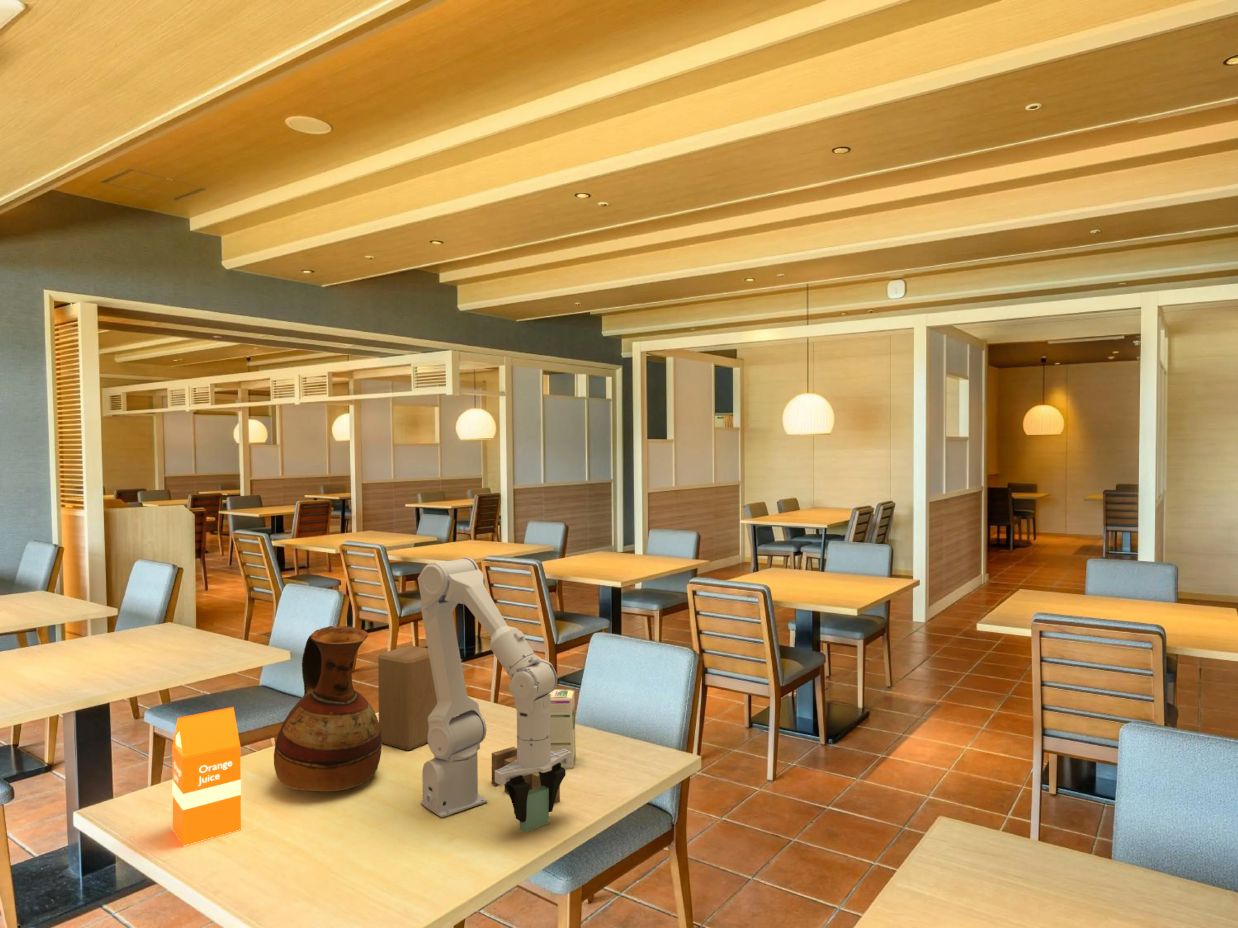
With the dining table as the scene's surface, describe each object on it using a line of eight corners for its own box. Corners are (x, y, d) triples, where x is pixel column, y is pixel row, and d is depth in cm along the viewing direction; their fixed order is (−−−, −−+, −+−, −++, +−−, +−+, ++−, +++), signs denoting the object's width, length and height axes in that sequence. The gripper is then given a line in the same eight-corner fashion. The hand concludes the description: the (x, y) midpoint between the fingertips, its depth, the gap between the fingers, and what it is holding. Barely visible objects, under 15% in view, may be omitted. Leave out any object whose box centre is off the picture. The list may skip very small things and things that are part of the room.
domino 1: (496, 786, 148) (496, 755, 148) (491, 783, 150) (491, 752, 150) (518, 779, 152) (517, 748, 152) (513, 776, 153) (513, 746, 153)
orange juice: (241, 829, 131) (240, 711, 131) (183, 847, 125) (182, 723, 125) (228, 814, 137) (227, 701, 137) (172, 830, 131) (171, 712, 131)
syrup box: (573, 768, 157) (573, 697, 157) (544, 768, 157) (544, 697, 157) (575, 758, 162) (575, 688, 162) (547, 757, 163) (547, 688, 162)
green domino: (524, 832, 130) (524, 796, 130) (519, 828, 131) (519, 793, 131) (548, 823, 133) (548, 788, 133) (543, 819, 134) (543, 785, 134)
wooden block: (442, 737, 175) (441, 649, 175) (408, 752, 166) (408, 658, 166) (411, 730, 180) (410, 643, 180) (376, 743, 171) (376, 653, 171)
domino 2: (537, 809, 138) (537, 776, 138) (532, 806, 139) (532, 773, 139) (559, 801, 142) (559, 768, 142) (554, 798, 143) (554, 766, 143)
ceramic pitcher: (311, 813, 137) (310, 644, 137) (252, 785, 149) (252, 630, 149) (402, 777, 153) (402, 625, 153) (343, 754, 165) (342, 614, 165)
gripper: (511, 752, 124) (511, 836, 124) (581, 730, 134) (582, 809, 134) (487, 740, 130) (487, 821, 130) (557, 720, 139) (557, 796, 139)
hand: (534, 814), depth 132 cm, fingers closed on green domino, 5 cm apart
